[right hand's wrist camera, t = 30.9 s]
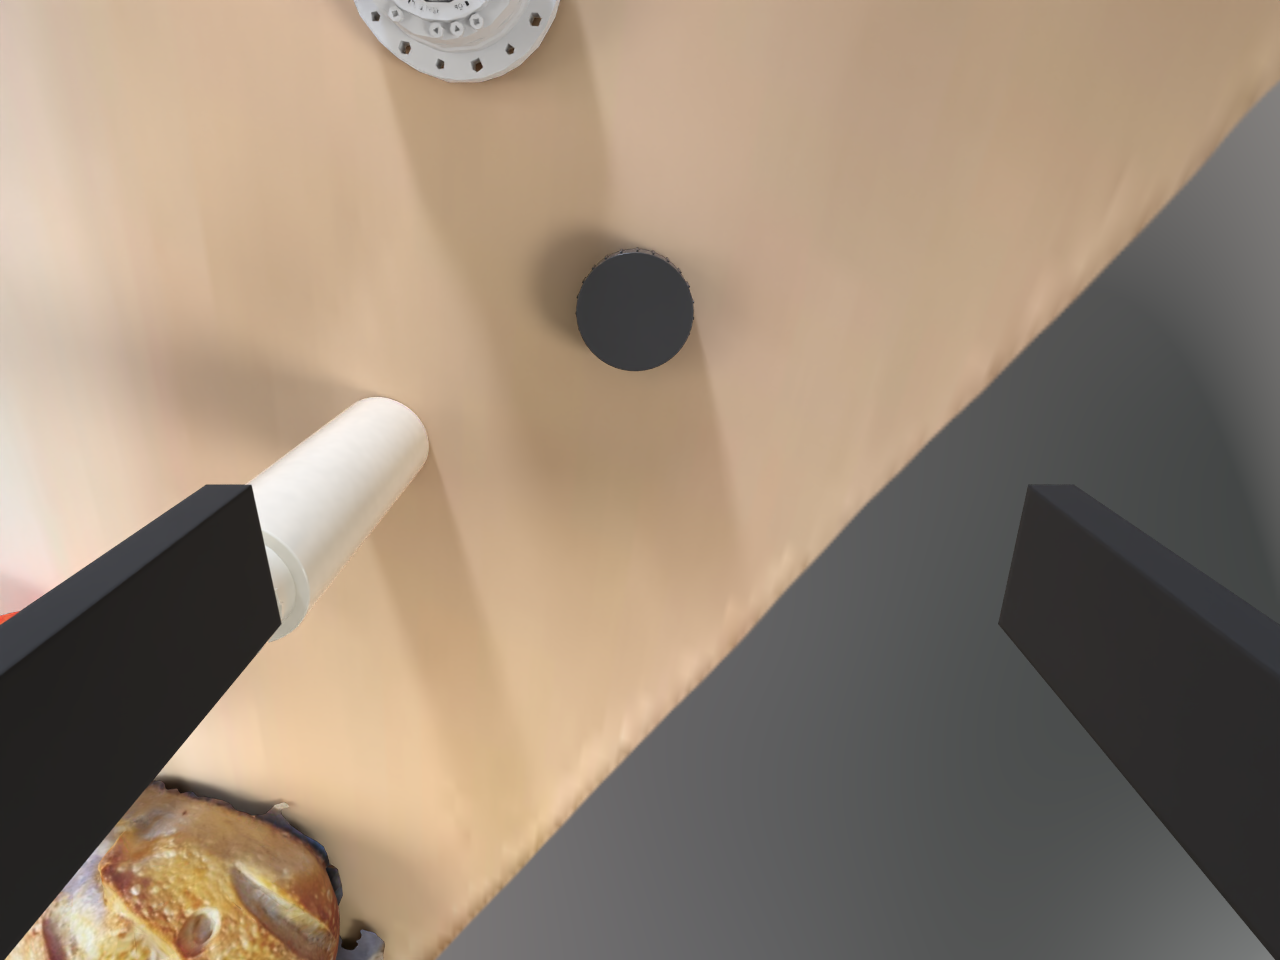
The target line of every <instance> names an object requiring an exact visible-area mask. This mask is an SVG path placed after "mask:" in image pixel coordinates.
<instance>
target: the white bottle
mask: <svg viewBox="0 0 1280 960" xmlns="http://www.w3.org/2000/svg"><path fill="white" fill-rule="evenodd" d="M428 452H429V441H428V435H427V432H426V430H425V427H424V425H423V424H422V422H421V420H420V419H419V418H418V417H417V415H416V414H415V413H414V412H413V411H412V410H410V409H409V408H408V407H407V406H405V405H403V404H402V403H400V402H397V401H395V400H392V399H389V398H383V397H370V398H365V399H362V400H359V401H357V402H355V403H353V404H352V405H351V406H349V407H348V408H347V409H345V410H344V411H343V412H341V413H340V414H338V415H337V416H336V417H334V418H333V419H332V420H330V421H329V422H328V423H326V424H325V425H324V426H322V427H321V428H320V429H318V430H317V431H316V432H314V433H313V434H312V435H310V436H309V437H308V438H306V439H305V440H304V441H302V442H301V443H300V444H298V445H297V446H296V447H294V448H293V449H292V450H290V451H289V452H288V453H286V454H285V455H283V456H282V457H281V458H279V459H278V460H277V461H275V462H274V463H273V464H271V465H270V466H269V467H267V468H266V469H265V470H263V471H262V472H261V473H259V474H258V475H257V476H255V477H254V478H253V479H251V480H250V481H249V482H247V483H246V484H245V485H252V488H253V493H254V498H255V502H256V507H257V512H258V516H259V521H260V526H261V530H262V535H263V539H264V544H265V549H266V553H267V558H268V563H269V567H270V572H271V577H272V581H273V586H274V590H275V595H276V600H277V604H278V609H279V614H280V618H281V623H282V624H281V625H280V627H279V628H278V629H277V630H276V632H275V633H274V634H273V635H272V636H271V638H270V639H269V640H268V641H267V642H266V643H268V642H271V641H275V640H278V639H280V638H282V637H284V636H286V635H288V634H289V633H291V632H292V631H293V630H294V629H296V628H297V627H298V626H299V624H300V623H301V622H302V621H303V619H304V618H305V617H306V616H307V614H308V613H309V612H310V610H311V609H312V608H313V607H314V605H315V604H316V603H317V602H318V600H319V599H320V598H321V596H322V595H323V594H324V593H325V591H326V590H327V589H328V587H329V586H330V585H331V584H332V582H333V581H334V580H335V579H336V577H337V576H338V575H339V573H340V572H341V571H342V570H343V568H344V567H345V566H346V564H347V563H348V562H349V561H350V559H351V558H352V557H353V556H354V554H355V553H356V552H357V550H358V549H359V548H360V547H361V545H362V544H363V543H364V541H365V540H366V539H367V538H368V536H369V535H370V534H371V533H372V531H373V530H374V529H375V527H376V526H377V525H378V524H379V522H380V521H381V520H382V519H383V517H384V516H385V515H386V513H387V512H388V511H389V510H390V508H391V507H392V506H393V504H394V503H395V502H396V501H397V499H398V498H399V497H400V496H401V494H402V493H403V492H404V490H405V489H406V488H407V487H408V485H409V484H410V483H411V481H412V480H413V479H414V478H415V476H416V475H417V474H418V473H419V471H420V470H421V469H422V467H423V466H424V464H425V462H426V460H427V456H428ZM265 645H266V644H265ZM265 645H264V646H265ZM264 646H263V647H264ZM263 647H262V648H263ZM262 648H261V650H262ZM261 650H260V651H261ZM260 651H259V652H260ZM259 652H258V653H259ZM258 653H257V654H258Z"/></svg>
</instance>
